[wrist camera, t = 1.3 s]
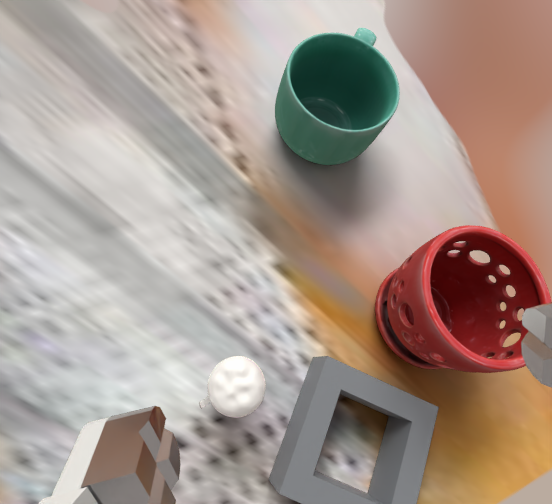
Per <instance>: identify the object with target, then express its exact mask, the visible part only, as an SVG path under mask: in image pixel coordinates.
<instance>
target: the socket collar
mask: <svg viewBox="0 0 552 504" xmlns="http://www.w3.org/2000/svg"><path fill="white" fill-rule="evenodd" d="M339 394H341V395H343V396H345V397H348V398H350V399H352V400H354V401H356V402H359V403H361V404H363V405H365V406H367V407H370V408H372V409H374V410H376V411H378V412H381V413H383V414H385V415H387V416H389V417H388V421H387V425H386V428H385V432H384V435H383V439H382V443H381V446H380V450H379V454H378V457H377V461H376V465H375V468H374V472H373V476H372V479H371V483H370V487H369V490H368V493H365V492H363V491H361V490H358V489H356V488H354V487H351V486H349V485H347V484H345V483H342V482H340V481H338V480H335V479H333V478H331V477H328V476H326V475H324V474H322V473H319V472H317V471H315V468H316V464H317V461H318V458H319V455H320V452H321V449H322V446H323V443H324V440H325V437H326V434H327V431H328V428H329V425H330V422H331V418H332V415H333V412H334V409H335V406H336V403H337V400H338V397H339ZM438 408H439V407H437V406H435V405H433V404H431V403H428V402H426V401H424V400H422V399H420V398H418V397H415V396H413V395H411V394H409V393H407V392H405V391H402V390H400V389H398V388H396V387H394V386H392V385H389V384H387V383H385V382H383V381H381V380H378V379H376V378H374V377H372V376H370V375H368V374H365V373H363V372H361V371H359V370H357V369H355V368H352V367H350V366H348V365H346V364H344V363H342V362H339V361H337V360H335V359H333V358H331V357H329V356H322V357H313V359H312V361H311V364H310V367H309V370H308V372H307V375H306V378H305V381H304V383H303V386H302V389H301V392H300V394H299V397H298V400H297V403H296V405H295V408H294V411H293V414H292V416H291V419H290V422H289V425H288V427H287V430H286V433H285V436H284V438H283V441H282V444H281V447H280V450H279V452H278V455H277V458H276V461H275V463H274V466H273V469H272V472H271V474H270V477H269V481H270V482H271V483H272V485H273V486H274V488H275V489H276V490H277V492H278V493H279V494H280V495H283V496H285V497H287V498H290V499H292V500H294V501H297V502H299V503H301V504H417V499H418V495H419V491H420V486H421V482H422V478H423V473H424V469H425V465H426V460H427V456H428V452H429V447H430V443H431V439H432V434H433V430H434V426H435V421H436V417H437V413H438Z"/></svg>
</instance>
